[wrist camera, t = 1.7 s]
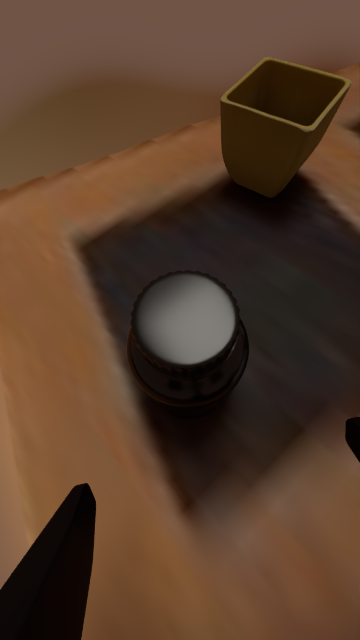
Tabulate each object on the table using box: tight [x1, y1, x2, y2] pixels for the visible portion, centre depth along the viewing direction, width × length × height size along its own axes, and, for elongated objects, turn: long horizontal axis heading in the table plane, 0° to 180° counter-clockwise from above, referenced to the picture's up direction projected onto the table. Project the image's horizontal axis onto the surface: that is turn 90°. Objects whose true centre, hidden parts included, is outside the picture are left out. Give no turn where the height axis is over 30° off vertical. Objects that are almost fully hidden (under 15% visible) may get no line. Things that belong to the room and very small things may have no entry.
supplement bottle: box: [127, 270, 249, 418], centre depth 17 cm, size 7×7×12 cm
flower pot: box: [220, 57, 352, 198], centre depth 28 cm, size 9×9×9 cm
